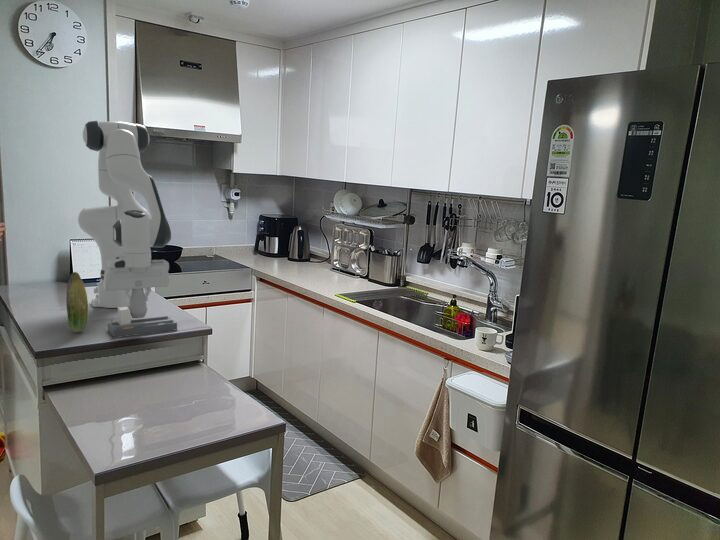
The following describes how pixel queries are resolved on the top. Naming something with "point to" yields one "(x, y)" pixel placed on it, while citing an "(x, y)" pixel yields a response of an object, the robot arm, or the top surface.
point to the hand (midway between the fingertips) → (137, 301)
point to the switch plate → (142, 326)
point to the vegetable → (76, 303)
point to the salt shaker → (138, 302)
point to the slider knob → (124, 316)
